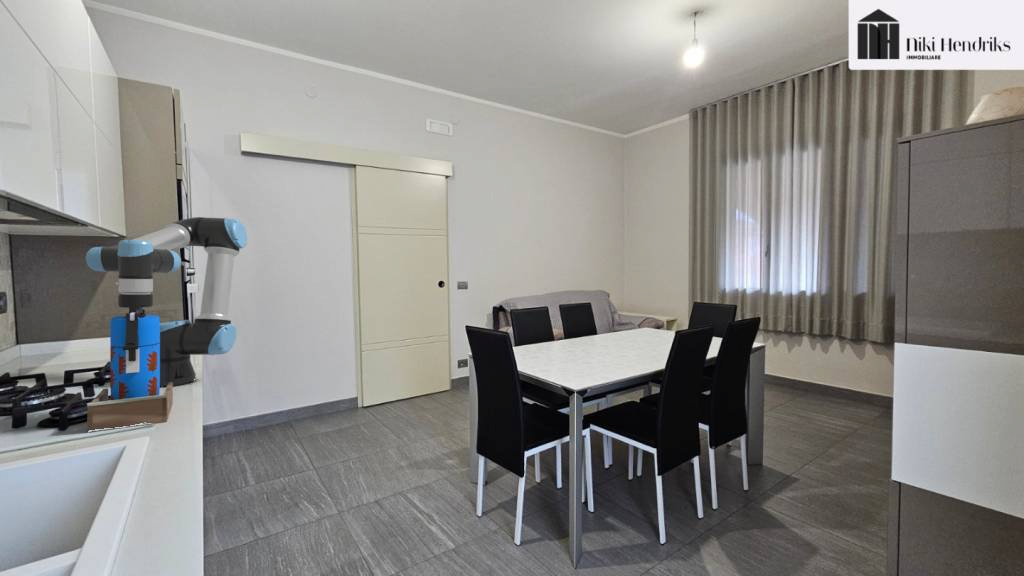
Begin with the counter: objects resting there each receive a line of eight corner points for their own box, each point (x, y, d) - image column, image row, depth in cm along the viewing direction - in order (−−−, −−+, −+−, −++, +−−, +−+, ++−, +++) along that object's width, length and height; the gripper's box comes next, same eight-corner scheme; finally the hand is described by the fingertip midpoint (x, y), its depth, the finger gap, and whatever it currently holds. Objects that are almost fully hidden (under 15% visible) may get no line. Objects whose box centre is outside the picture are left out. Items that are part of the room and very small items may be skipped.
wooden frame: (103, 412, 125) (103, 386, 125) (172, 404, 134) (172, 380, 134) (87, 432, 109) (87, 404, 109) (166, 422, 118) (166, 395, 118)
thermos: (155, 394, 131) (155, 314, 130) (164, 401, 124) (164, 317, 123) (107, 401, 122) (107, 316, 122) (113, 410, 116) (113, 320, 115)
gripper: (125, 291, 130) (125, 361, 130) (109, 295, 111) (110, 378, 111) (157, 291, 134) (157, 359, 135) (147, 295, 115) (147, 375, 116)
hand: (135, 368), depth 123 cm, fingers closed on thermos, 11 cm apart
